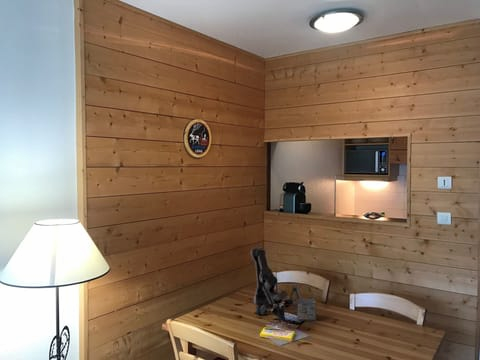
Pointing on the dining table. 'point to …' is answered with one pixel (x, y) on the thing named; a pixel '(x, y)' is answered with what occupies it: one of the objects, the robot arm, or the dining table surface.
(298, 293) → the phone stand
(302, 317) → the small box
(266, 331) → the candy box
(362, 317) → the dining table surface
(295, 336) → the placemat
